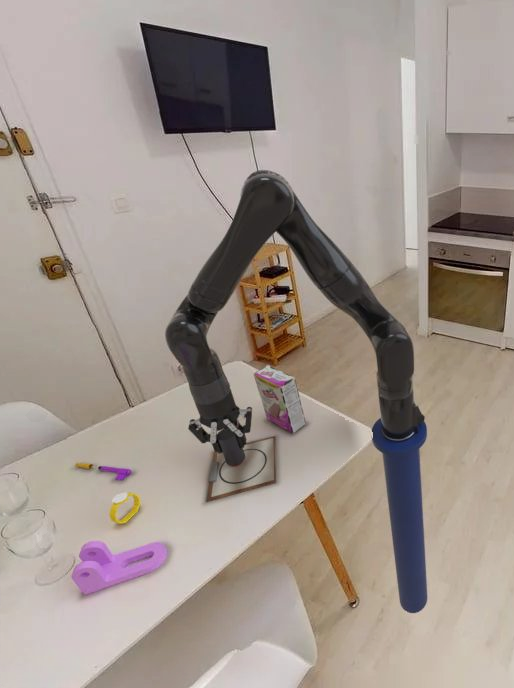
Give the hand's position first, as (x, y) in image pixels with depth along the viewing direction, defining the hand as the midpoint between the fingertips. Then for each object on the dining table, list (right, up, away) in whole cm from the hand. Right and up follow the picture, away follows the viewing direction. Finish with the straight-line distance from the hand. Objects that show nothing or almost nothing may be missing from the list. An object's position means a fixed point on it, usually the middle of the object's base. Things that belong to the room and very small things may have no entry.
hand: (232, 447), depth 99 cm
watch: (-17, -12, -10) cm, 24 cm away
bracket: (-10, -18, -20) cm, 28 cm away
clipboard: (+2, -5, +2) cm, 6 cm away
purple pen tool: (-33, -7, +1) cm, 33 cm away
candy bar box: (+8, +2, +15) cm, 17 cm away
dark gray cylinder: (0, -4, +2) cm, 5 cm away
